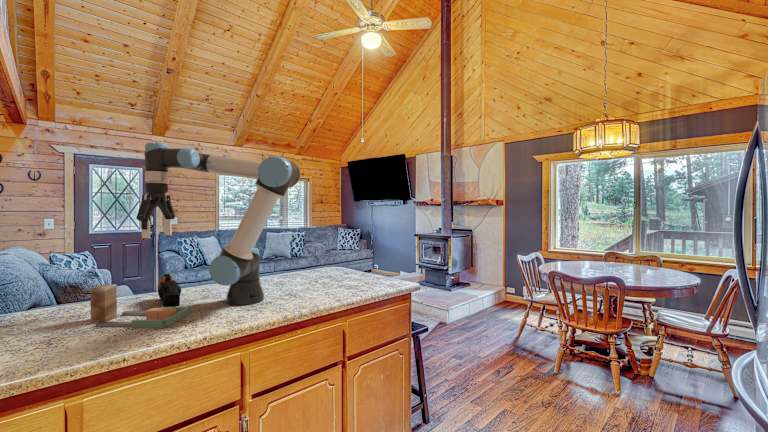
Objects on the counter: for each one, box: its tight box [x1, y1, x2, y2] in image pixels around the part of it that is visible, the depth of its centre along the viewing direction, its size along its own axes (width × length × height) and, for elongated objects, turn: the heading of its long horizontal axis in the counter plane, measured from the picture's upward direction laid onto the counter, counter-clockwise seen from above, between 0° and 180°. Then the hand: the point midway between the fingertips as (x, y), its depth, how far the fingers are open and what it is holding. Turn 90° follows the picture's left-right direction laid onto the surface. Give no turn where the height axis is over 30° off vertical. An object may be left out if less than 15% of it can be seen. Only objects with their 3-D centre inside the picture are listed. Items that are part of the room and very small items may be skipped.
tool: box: [157, 272, 182, 307], centre depth 147 cm, size 8×23×15 cm, turn 36°
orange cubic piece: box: [145, 307, 163, 320], centre depth 127 cm, size 4×4×4 cm
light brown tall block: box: [89, 283, 118, 323], centre depth 127 cm, size 5×6×12 cm
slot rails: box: [95, 310, 147, 328], centre depth 127 cm, size 12×14×1 cm
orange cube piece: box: [158, 308, 176, 320], centre depth 127 cm, size 4×4×4 cm
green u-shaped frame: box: [131, 306, 192, 329], centre depth 127 cm, size 11×16×2 cm
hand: (157, 236), depth 140 cm, fingers open, 13 cm apart
